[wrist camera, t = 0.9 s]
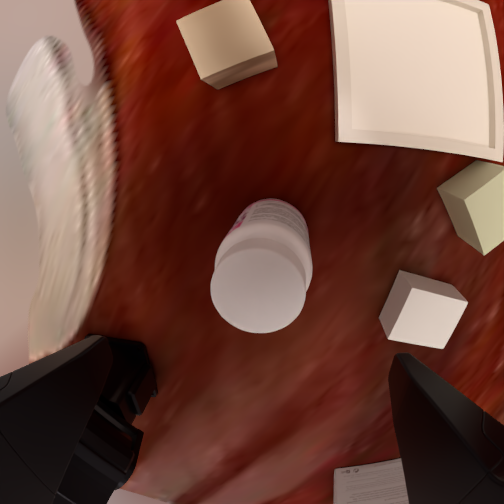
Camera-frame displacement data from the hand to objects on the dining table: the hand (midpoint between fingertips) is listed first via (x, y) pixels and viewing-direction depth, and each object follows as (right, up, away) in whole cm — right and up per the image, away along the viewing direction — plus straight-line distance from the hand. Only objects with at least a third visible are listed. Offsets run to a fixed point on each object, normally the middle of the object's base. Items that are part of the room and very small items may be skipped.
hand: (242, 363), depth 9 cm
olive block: (+15, +7, +9) cm, 19 cm away
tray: (+11, +16, +6) cm, 20 cm away
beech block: (-1, +16, +8) cm, 18 cm away
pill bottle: (+2, +5, +12) cm, 13 cm away
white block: (+13, 0, +12) cm, 18 cm away
